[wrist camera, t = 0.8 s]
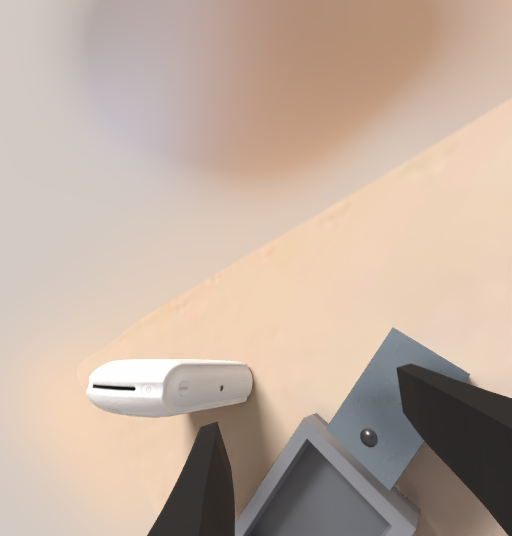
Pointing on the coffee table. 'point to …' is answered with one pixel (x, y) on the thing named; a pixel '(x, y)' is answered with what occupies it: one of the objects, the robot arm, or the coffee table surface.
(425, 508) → the coffee table surface
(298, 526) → the lock cradle
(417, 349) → the block
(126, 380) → the photo printer
